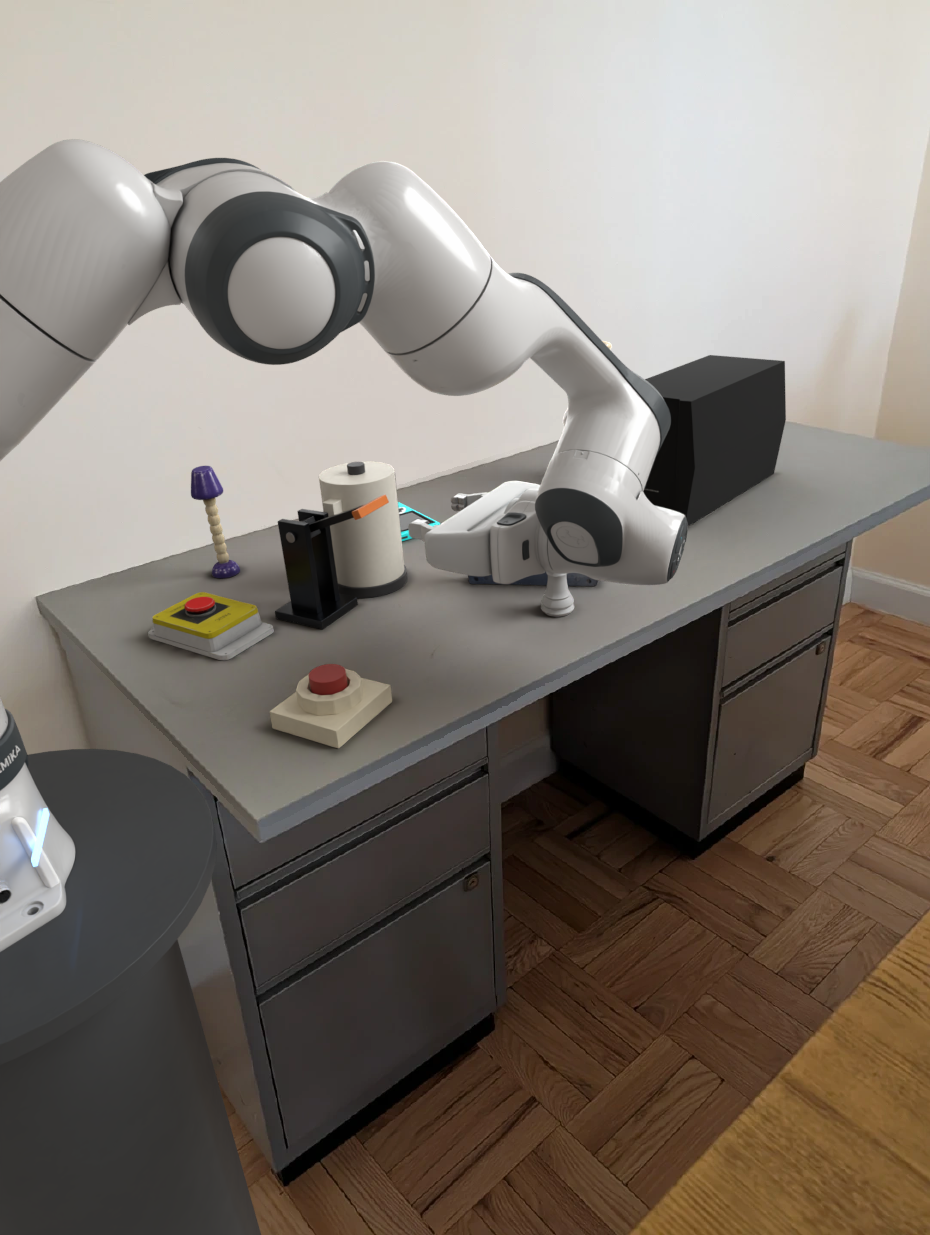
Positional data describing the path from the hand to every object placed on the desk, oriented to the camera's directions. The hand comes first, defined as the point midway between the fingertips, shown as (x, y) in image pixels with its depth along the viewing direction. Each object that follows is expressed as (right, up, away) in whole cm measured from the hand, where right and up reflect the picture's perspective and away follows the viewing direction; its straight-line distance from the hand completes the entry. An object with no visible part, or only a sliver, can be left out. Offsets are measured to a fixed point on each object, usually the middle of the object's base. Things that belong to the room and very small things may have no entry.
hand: (433, 514), depth 105 cm
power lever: (-12, -1, +9) cm, 15 cm away
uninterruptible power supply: (+44, +10, +51) cm, 68 cm away
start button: (-11, -20, -8) cm, 24 cm away
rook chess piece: (+16, -11, +13) cm, 24 cm away
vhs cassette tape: (+13, -7, +22) cm, 26 cm away
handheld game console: (-8, +3, +46) cm, 47 cm away
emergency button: (-30, -14, +13) cm, 36 cm away
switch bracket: (-17, -11, +17) cm, 26 cm away
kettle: (-10, -7, +25) cm, 28 cm away
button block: (-11, -23, -7) cm, 26 cm away
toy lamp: (-33, -6, +31) cm, 46 cm away
